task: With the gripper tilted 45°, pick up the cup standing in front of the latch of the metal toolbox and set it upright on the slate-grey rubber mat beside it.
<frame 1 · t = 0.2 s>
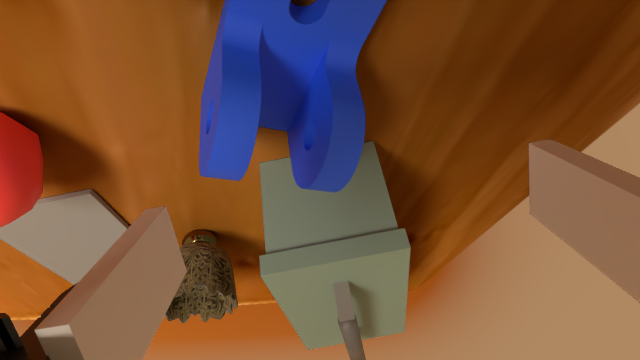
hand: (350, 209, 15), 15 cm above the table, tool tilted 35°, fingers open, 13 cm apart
cup: (200, 234, 45), on the table
rubber mat: (100, 255, 45), on the table
toolbox: (330, 211, 45), on the table
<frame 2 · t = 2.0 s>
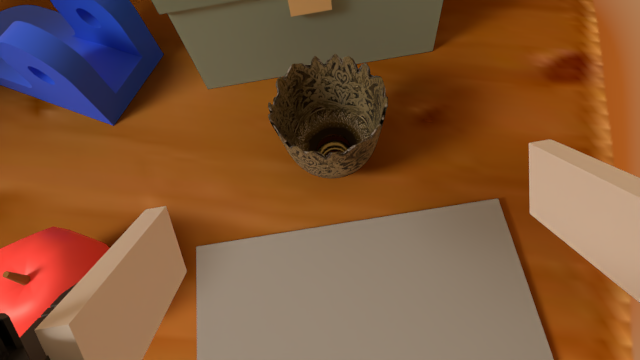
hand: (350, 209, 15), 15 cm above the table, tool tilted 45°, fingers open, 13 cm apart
cup: (334, 160, 34), on the table
rubber mat: (358, 301, 29), on the table
toolbox: (312, 28, 39), on the table
apple: (91, 300, 31), on the table
bracket: (65, 66, 41), on the table
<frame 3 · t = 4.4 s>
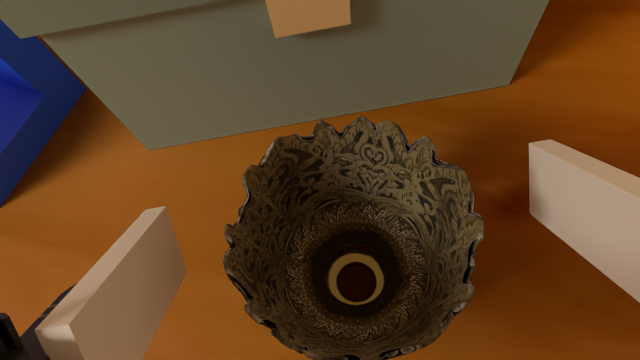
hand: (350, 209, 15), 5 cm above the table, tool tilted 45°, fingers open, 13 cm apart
cup: (356, 282, 19), on the table
toolbox: (313, 49, 25), on the table
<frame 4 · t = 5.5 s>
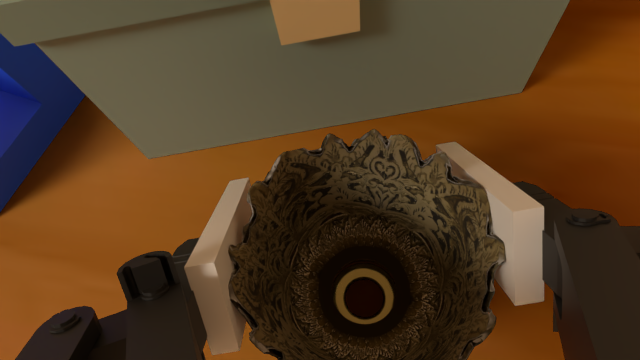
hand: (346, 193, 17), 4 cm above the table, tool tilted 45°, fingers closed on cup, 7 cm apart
cup: (364, 298, 19), on the table, touching gripper
toolbox: (319, 54, 25), on the table
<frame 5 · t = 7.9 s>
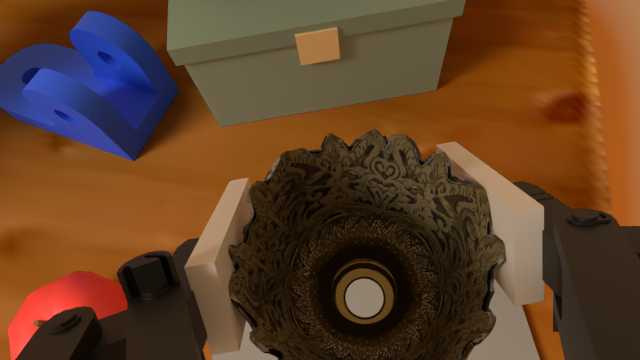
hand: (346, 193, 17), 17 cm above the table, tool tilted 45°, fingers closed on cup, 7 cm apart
cup: (364, 298, 19), point 13 cm above the table, touching gripper
rubber mat: (366, 340, 30), on the table
toolbox: (320, 66, 41), on the table
apple: (111, 336, 32), on the table
bracket: (84, 102, 43), on the table
when the fingers open (5 cm above the table, at t = 10.6 s): cup stays where it is, resting on rubber mat.
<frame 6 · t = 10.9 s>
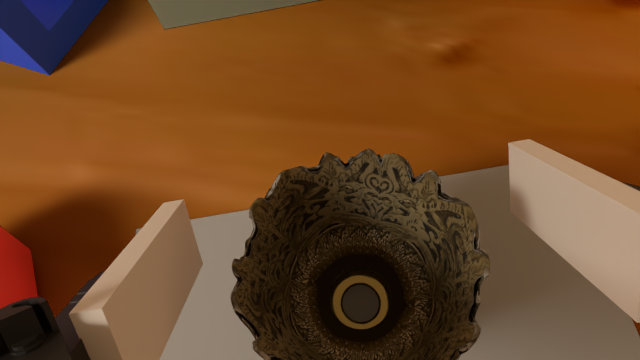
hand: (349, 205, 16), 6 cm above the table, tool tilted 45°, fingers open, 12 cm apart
cup: (360, 303, 20), resting on rubber mat
rubber mat: (364, 303, 20), on the table
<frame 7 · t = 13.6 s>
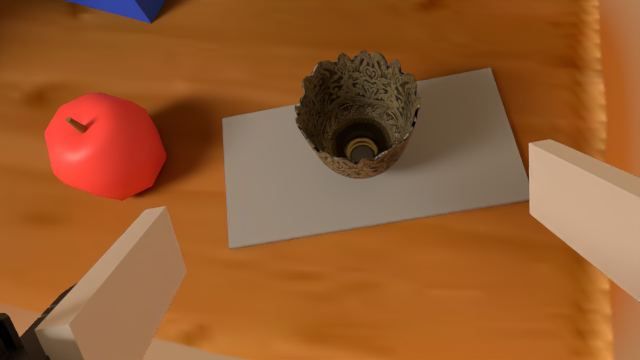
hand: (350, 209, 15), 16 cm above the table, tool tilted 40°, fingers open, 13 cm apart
cup: (362, 156, 33), resting on rubber mat
rubber mat: (364, 157, 33), on the table
apple: (134, 165, 36), on the table
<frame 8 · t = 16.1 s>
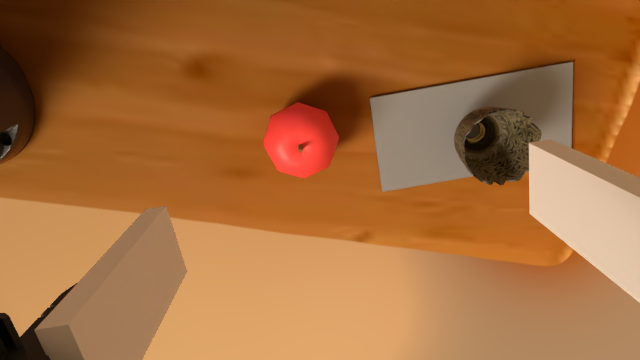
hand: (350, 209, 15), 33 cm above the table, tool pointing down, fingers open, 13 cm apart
cup: (471, 130, 48), resting on rubber mat
rubber mat: (472, 128, 48), on the table
apple: (301, 131, 48), on the table
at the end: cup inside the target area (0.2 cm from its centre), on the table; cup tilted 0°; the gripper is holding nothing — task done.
